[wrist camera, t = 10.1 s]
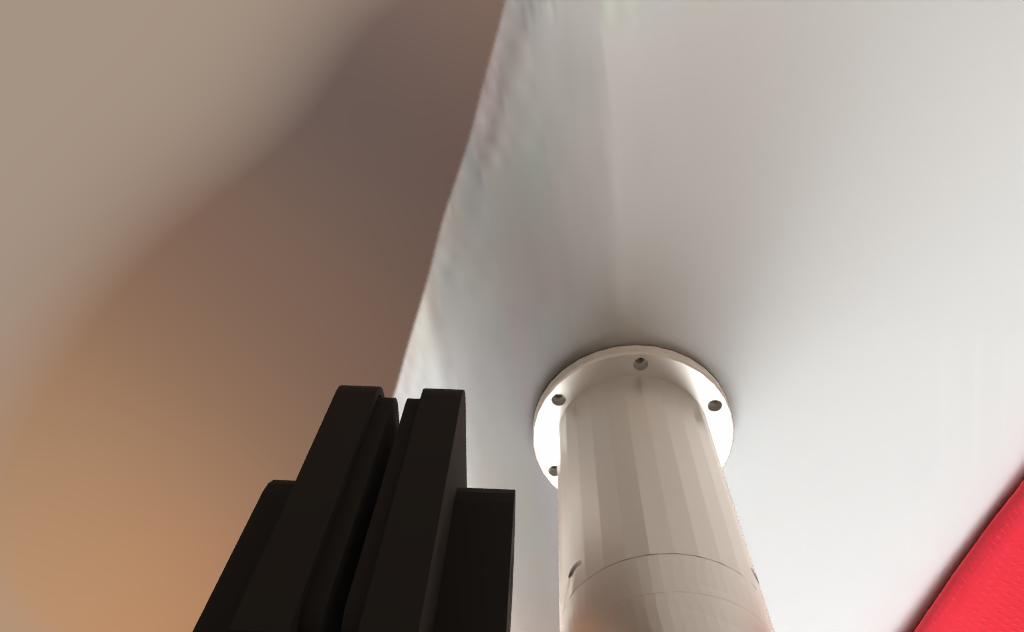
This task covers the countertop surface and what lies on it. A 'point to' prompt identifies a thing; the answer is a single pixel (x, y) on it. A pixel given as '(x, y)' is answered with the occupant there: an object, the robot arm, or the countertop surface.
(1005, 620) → the dish drying mat
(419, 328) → the countertop surface
